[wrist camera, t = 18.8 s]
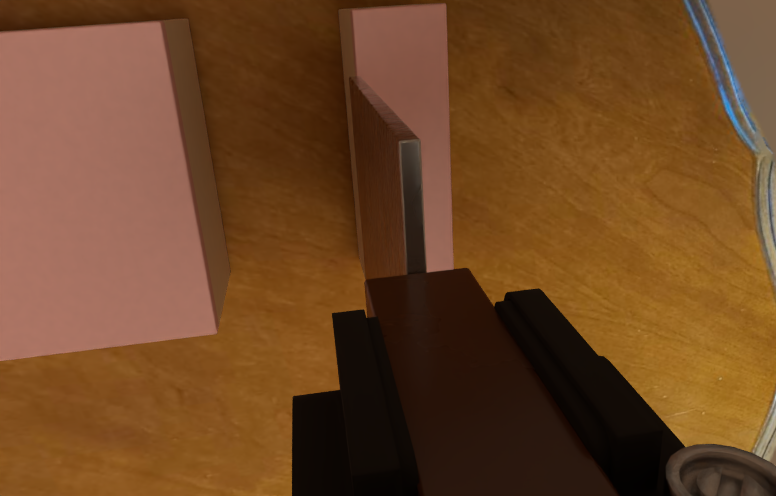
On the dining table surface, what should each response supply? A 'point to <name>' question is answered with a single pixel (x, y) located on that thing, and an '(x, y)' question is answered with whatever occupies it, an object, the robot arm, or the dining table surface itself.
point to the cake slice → (407, 101)
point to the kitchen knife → (453, 343)
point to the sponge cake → (105, 190)
